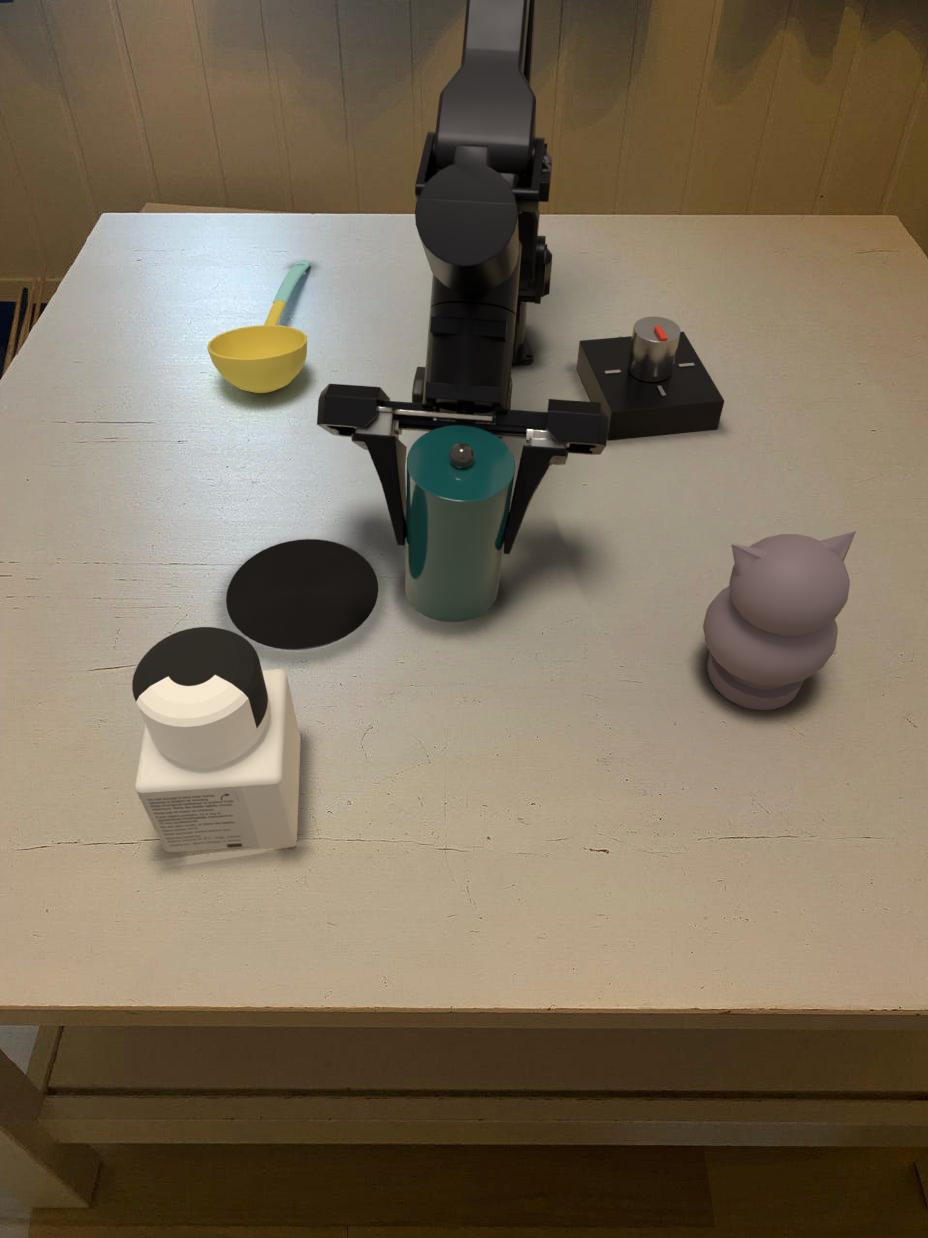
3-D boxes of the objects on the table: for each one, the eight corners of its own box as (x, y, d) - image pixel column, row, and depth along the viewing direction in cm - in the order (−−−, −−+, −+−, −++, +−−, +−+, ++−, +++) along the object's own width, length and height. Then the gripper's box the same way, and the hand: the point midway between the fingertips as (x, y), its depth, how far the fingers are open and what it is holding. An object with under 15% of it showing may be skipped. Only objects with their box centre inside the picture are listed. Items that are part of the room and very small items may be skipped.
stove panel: (576, 368, 89) (579, 338, 87) (678, 358, 90) (684, 329, 88) (607, 440, 82) (612, 410, 79) (717, 429, 83) (725, 399, 81)
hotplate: (227, 554, 72) (225, 547, 71) (370, 539, 73) (370, 531, 73) (228, 666, 65) (226, 658, 64) (387, 646, 66) (386, 638, 66)
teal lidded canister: (390, 572, 70) (389, 426, 59) (471, 544, 72) (486, 398, 61) (429, 640, 67) (436, 499, 55) (513, 609, 69) (537, 466, 57)
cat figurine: (711, 728, 62) (755, 605, 53) (675, 637, 67) (710, 511, 58) (834, 712, 63) (898, 589, 54) (790, 624, 68) (841, 498, 59)
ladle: (204, 408, 83) (191, 343, 79) (271, 312, 104) (263, 258, 101) (303, 408, 82) (294, 343, 79) (350, 312, 104) (345, 257, 100)
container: (180, 748, 60) (128, 613, 51) (302, 740, 61) (273, 605, 51) (165, 858, 55) (104, 732, 46) (298, 849, 56) (265, 722, 46)
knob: (621, 358, 85) (628, 315, 81) (664, 354, 85) (672, 311, 82) (634, 384, 82) (642, 340, 79) (678, 379, 83) (687, 336, 79)
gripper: (604, 350, 70) (585, 561, 71) (355, 333, 71) (341, 541, 72) (619, 311, 59) (596, 561, 60) (323, 292, 60) (306, 538, 61)
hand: (454, 550), depth 63 cm, fingers closed on teal lidded canister, 7 cm apart
